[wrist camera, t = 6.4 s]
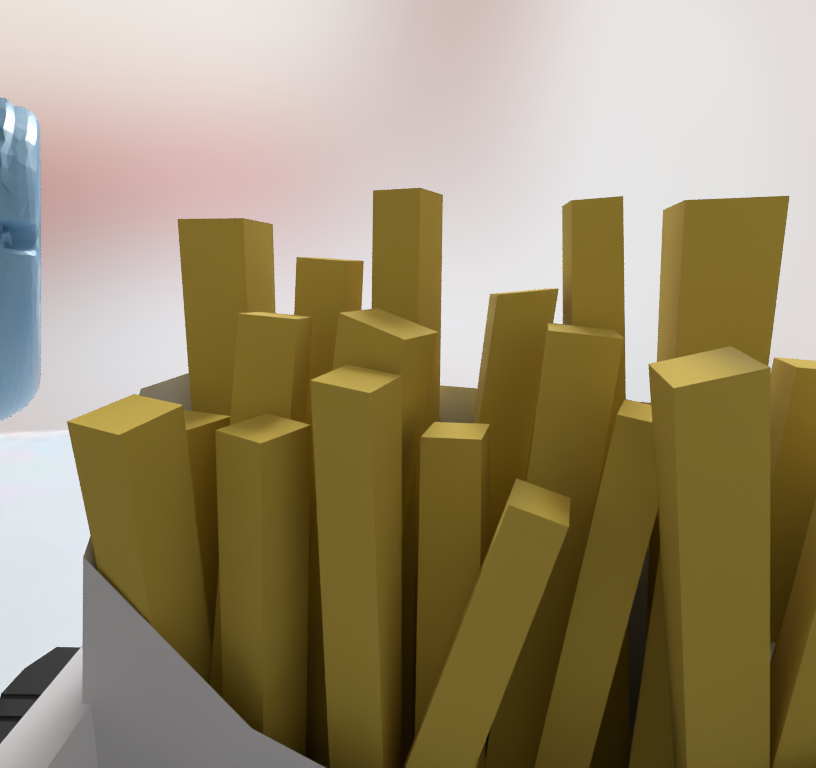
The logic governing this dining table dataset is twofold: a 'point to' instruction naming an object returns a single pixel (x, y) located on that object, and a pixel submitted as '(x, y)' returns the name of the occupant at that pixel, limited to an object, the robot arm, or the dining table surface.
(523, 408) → the french fries container
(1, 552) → the dining table surface
